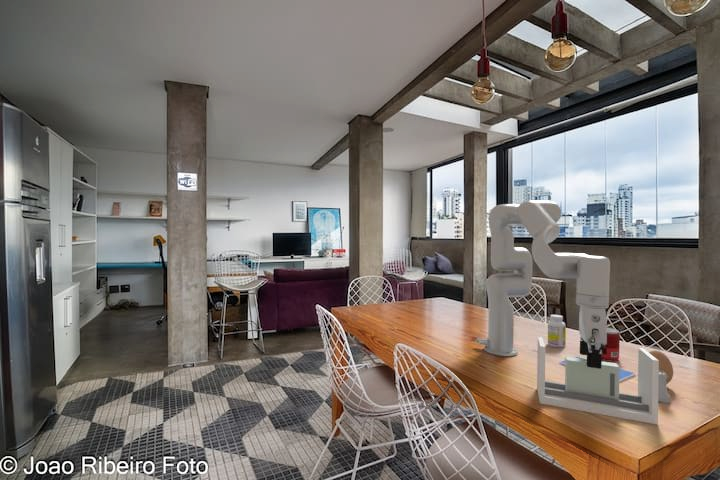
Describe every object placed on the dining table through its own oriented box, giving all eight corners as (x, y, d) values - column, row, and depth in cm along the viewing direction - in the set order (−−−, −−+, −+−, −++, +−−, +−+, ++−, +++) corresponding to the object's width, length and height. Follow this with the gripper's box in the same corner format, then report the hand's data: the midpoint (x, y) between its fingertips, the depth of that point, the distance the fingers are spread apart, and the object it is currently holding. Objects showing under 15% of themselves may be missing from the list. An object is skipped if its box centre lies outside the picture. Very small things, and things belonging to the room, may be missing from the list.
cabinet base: (539, 403, 94) (540, 346, 94) (537, 388, 103) (537, 336, 103) (657, 424, 84) (658, 360, 84) (643, 406, 93) (643, 348, 93)
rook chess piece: (645, 396, 99) (646, 369, 99) (659, 395, 99) (660, 368, 99) (660, 403, 94) (661, 375, 94) (675, 403, 95) (675, 375, 95)
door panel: (566, 395, 95) (567, 360, 95) (565, 390, 97) (565, 356, 97) (618, 404, 90) (619, 367, 90) (615, 399, 93) (616, 363, 93)
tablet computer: (558, 364, 125) (558, 361, 125) (576, 358, 131) (576, 355, 131) (618, 385, 108) (618, 380, 108) (636, 377, 114) (636, 373, 114)
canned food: (620, 357, 131) (620, 329, 131) (617, 363, 125) (618, 333, 125) (596, 352, 136) (596, 325, 136) (593, 357, 131) (593, 329, 130)
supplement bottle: (560, 343, 149) (561, 314, 148) (568, 348, 142) (568, 317, 142) (544, 342, 149) (545, 313, 149) (551, 347, 143) (552, 317, 143)
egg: (642, 377, 112) (642, 345, 112) (673, 385, 107) (673, 350, 107) (640, 385, 107) (640, 350, 106) (672, 392, 101) (673, 356, 101)
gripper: (617, 308, 84) (615, 375, 85) (600, 295, 100) (598, 352, 100) (582, 305, 87) (580, 370, 88) (571, 293, 103) (569, 348, 103)
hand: (589, 360), depth 94 cm, fingers open, 9 cm apart
